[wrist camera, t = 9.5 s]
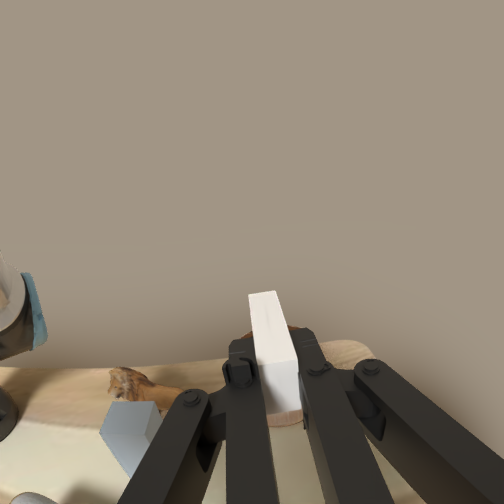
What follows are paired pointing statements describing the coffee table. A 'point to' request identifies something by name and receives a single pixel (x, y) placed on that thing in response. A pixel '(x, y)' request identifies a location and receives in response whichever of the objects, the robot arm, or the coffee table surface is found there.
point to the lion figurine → (140, 388)
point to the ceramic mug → (31, 499)
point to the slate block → (130, 431)
